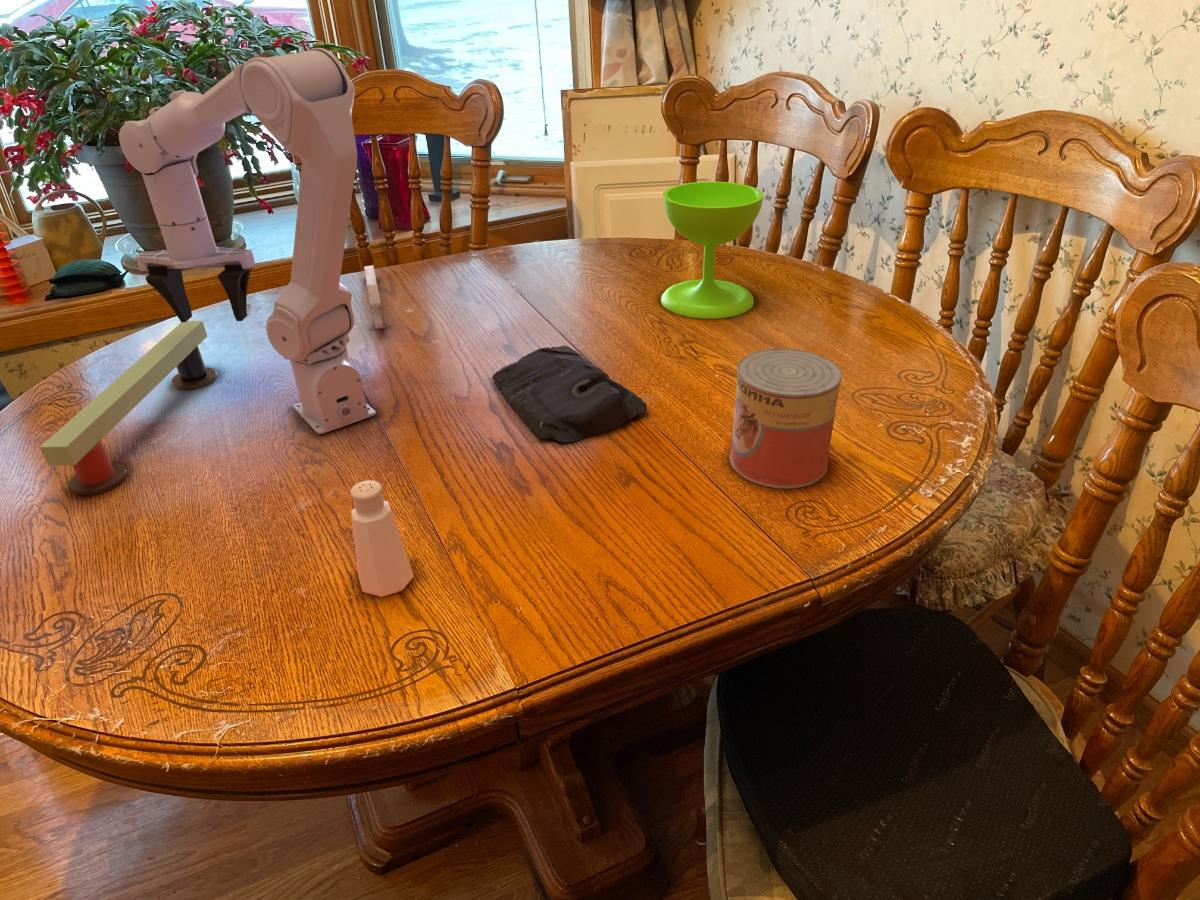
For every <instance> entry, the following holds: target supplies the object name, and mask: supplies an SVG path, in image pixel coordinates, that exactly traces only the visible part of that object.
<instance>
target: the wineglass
mask: <svg viewBox="0 0 1200 900" xmlns="http://www.w3.org/2000/svg"><path fill="white" fill-rule="evenodd" d="M763 201H764V193H763V191H761V190H760V189H759V188H757V187H754V186H751V185H747V184H744V183H738V182H737V183H736V182H731V181H694V182H693V181H692V182H688V183H680V184H678V185H677V184H676V185H673V186H671V187H668V188H667V189H665V190H664V191H662V202H663V209H664V213H665V214H666V217H667V219H668V221H669V223H670V224H671V225H672V227H673V228H674V230H676V232H677V233H678V234H679V235H681V236H682V237H684V238H685V239H686V240H688V241H689V242H691V243H695V244H697V245H698V244H699V245H702V246H703V264H702V266H703V267H702V279H691V280H685V281H681V282H678V283H675V284H673V285H671V286H670V287H668V288H666V289H665V290H664V292H663V293H662V295H661V297H660V303H661V304H662V306H663V307H664V308H665V309H666V310H668V311H669V312H672V313H674V314H676V315H679V316H683V317H687V318H695V319H703V320H704V319H705V320H706V319H708V320H715V319H716V320H717V319H726V318H731V317H732V318H733V317H737V316H739V315H741V314H744V313H747V312H748V311H749V310H751V309H752V308H753V306H754V304H755V300H754V296H753V294H752V293H751V292H750V291H749V290H748V289H747V288H746V287H744V286H742V285H739V284H737V283H733V282H731V281H727V280H721V279H715V270H716V269H715V268H716V267H715V266H716V250H717V249H716V248H717V246H720V245H724V244H728V243H732V241H734V240H737V238H739V237H741V236H742V235H744V234H745V233H746V232H747V231H748V230H749V229H750V228H751V226H752V225H753V224H754V223H755V221H756V219H757V218H758V215H759V213H760V212H761V209H762V205H763Z"/></svg>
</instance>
